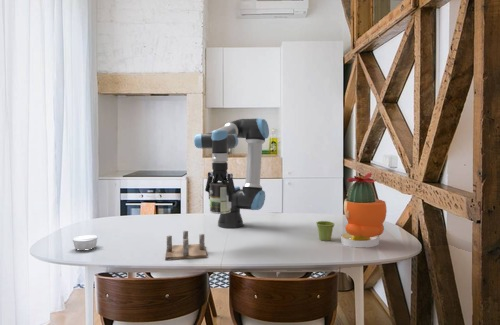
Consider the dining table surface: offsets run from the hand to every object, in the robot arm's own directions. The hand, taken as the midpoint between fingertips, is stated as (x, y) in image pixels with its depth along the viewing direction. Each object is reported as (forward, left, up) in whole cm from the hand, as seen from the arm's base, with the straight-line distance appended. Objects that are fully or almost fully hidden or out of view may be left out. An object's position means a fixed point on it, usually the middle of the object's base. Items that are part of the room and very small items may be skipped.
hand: (220, 207), depth 192 cm
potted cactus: (-72, +8, -20) cm, 75 cm away
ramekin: (+65, -8, -20) cm, 68 cm away
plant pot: (-55, -2, -20) cm, 58 cm away
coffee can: (0, 0, -3) cm, 3 cm away
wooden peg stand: (+17, +8, -19) cm, 27 cm away
